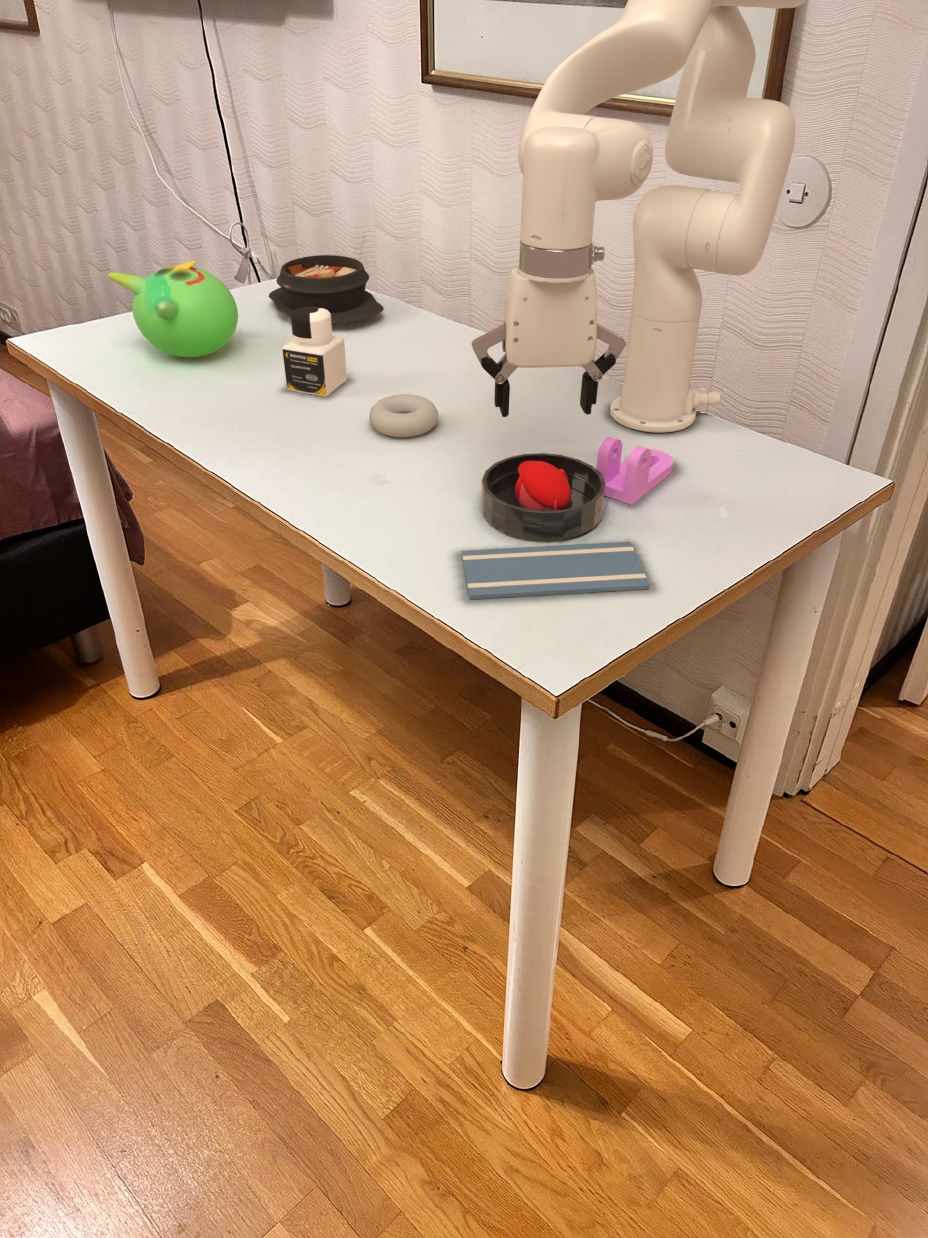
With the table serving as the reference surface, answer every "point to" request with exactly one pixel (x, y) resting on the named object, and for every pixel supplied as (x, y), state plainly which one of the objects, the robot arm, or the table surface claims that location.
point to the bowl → (546, 524)
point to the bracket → (631, 470)
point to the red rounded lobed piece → (542, 486)
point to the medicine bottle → (314, 354)
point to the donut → (403, 415)
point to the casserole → (326, 288)
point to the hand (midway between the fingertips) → (544, 410)
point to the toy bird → (182, 309)
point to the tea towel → (552, 570)
